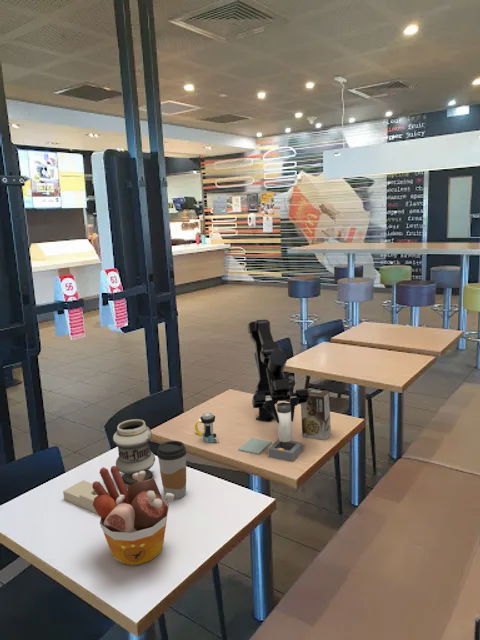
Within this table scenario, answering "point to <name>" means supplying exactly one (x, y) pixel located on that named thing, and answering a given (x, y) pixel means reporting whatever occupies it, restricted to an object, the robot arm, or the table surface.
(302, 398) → the robot arm
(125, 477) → the apothecary jar
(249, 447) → the rubber mat
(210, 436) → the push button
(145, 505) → the bucket of meat
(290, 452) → the grey square holder
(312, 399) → the coffee box
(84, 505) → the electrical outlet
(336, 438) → the table surface
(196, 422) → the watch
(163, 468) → the coffee cup
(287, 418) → the white capped cylinder
